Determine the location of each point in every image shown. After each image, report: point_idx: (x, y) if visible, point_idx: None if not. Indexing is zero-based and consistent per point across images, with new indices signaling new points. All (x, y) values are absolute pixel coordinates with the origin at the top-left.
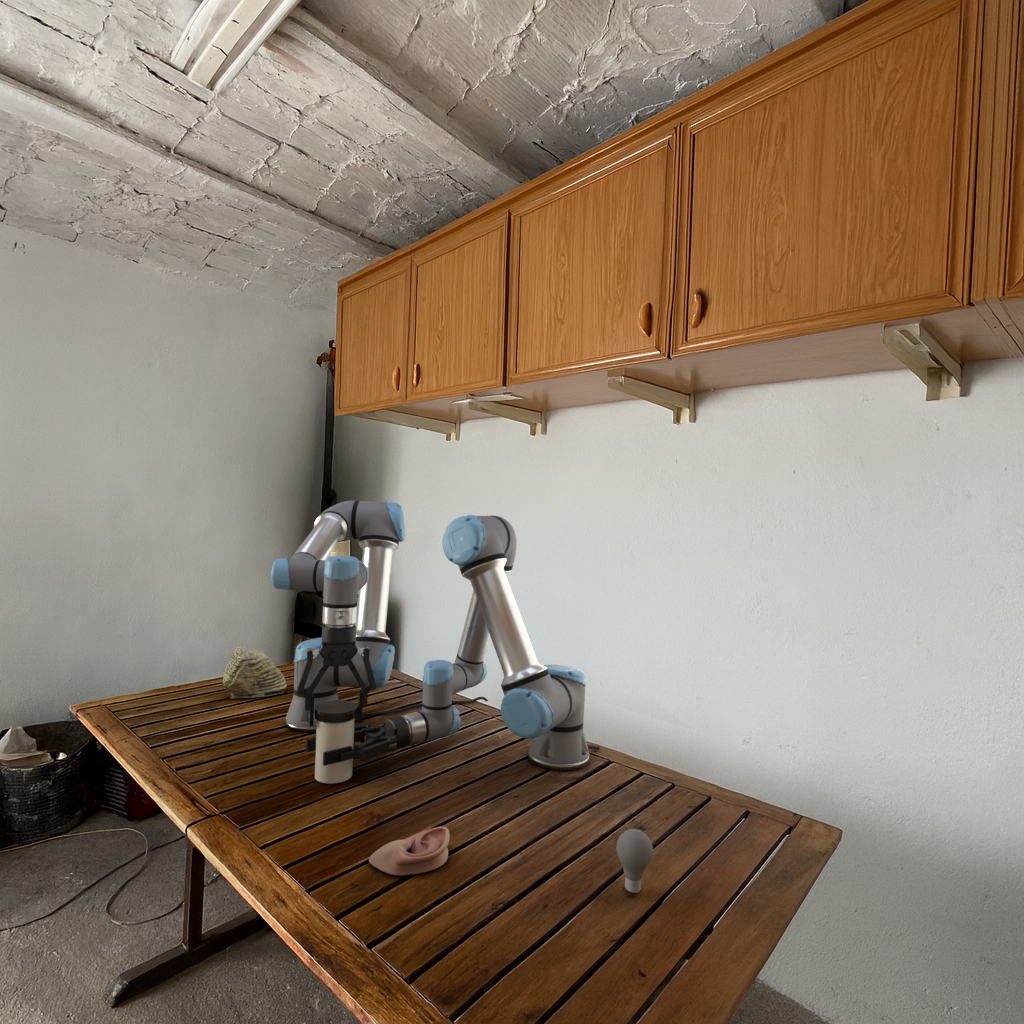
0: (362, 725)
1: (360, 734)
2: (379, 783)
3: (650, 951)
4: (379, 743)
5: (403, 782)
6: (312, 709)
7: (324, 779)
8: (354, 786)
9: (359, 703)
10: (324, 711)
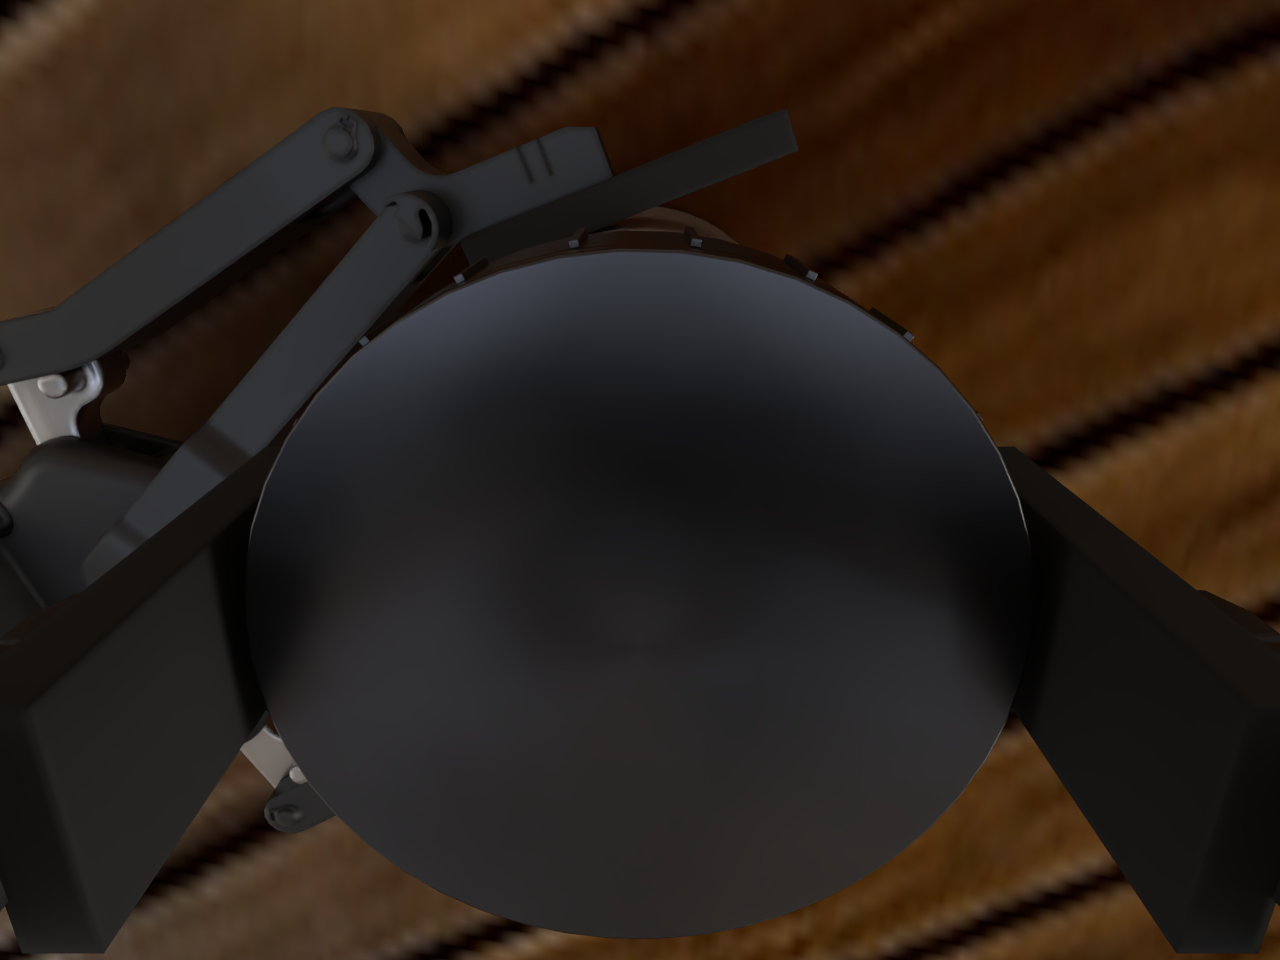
0: None
1: None
2: (285, 108)
3: None
4: (148, 287)
5: (80, 72)
6: (1112, 555)
7: (724, 233)
8: (491, 105)
9: (161, 579)
10: (896, 434)
